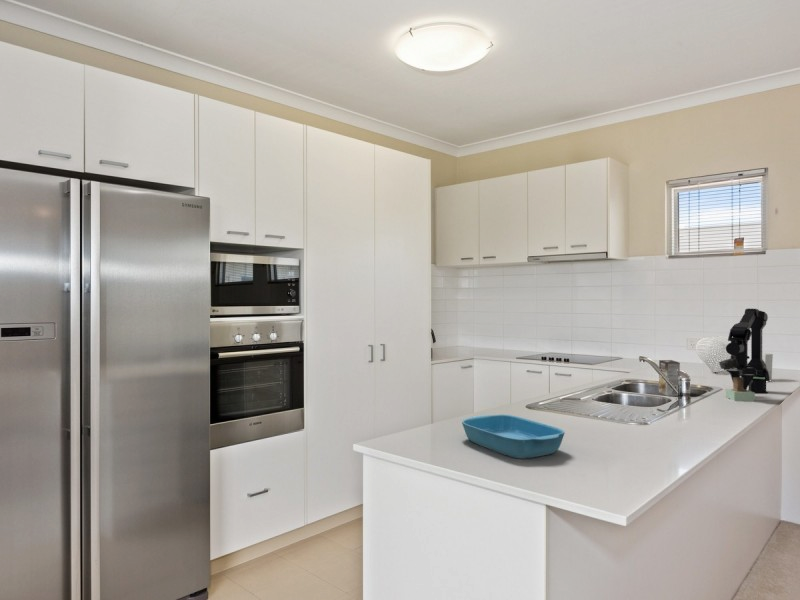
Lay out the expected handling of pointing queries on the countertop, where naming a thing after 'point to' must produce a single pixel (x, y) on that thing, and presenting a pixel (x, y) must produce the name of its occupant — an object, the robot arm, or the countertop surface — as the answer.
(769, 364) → the skincare box
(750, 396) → the socket
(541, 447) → the casserole dish
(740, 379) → the peg
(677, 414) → the countertop surface
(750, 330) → the robot arm
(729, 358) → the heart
